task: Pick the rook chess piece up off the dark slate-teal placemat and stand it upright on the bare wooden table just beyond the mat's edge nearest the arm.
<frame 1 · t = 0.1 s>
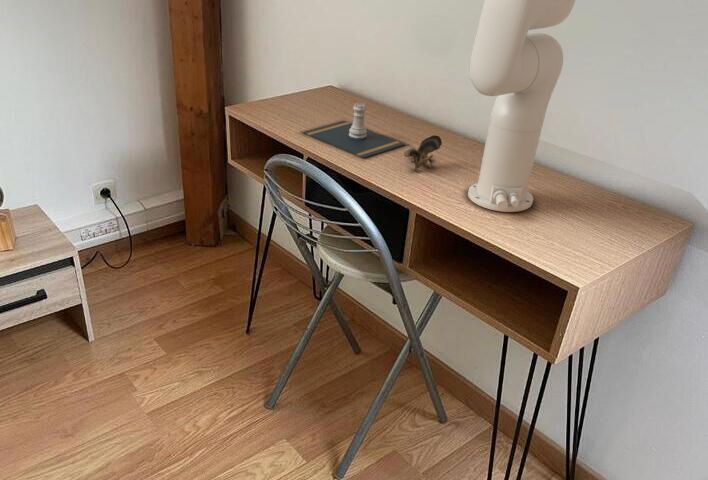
brown toy squirrel: (421, 166, 142), on the table
placemat: (353, 139, 155), on the table
rook chess piece: (357, 137, 156), resting on placemat
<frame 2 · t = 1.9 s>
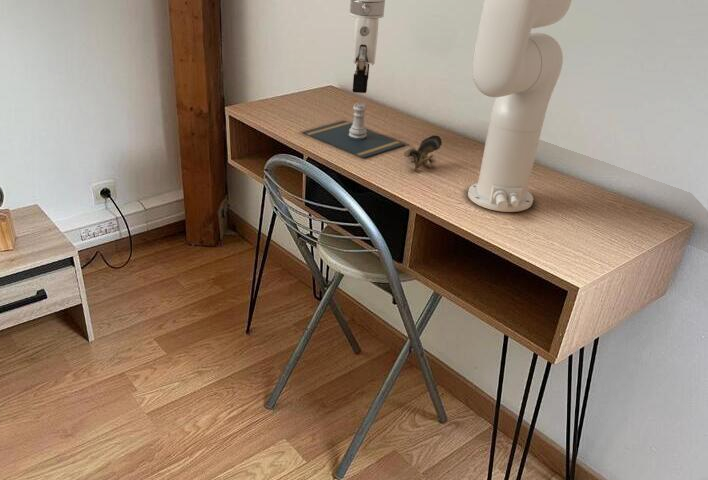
hand: (360, 86, 150), 13 cm above the table, tool pointing down, fingers open, 9 cm apart
nothing on the table moved.
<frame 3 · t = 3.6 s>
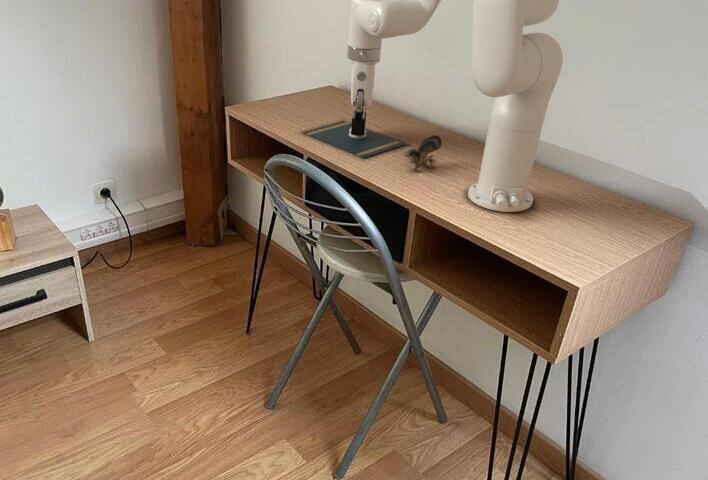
hand: (358, 130, 155), 2 cm above the table, tool pointing down, fingers closed on rook chess piece, 4 cm apart
rook chess piece: (357, 137, 156), resting on placemat, touching gripper
everything else where it was.
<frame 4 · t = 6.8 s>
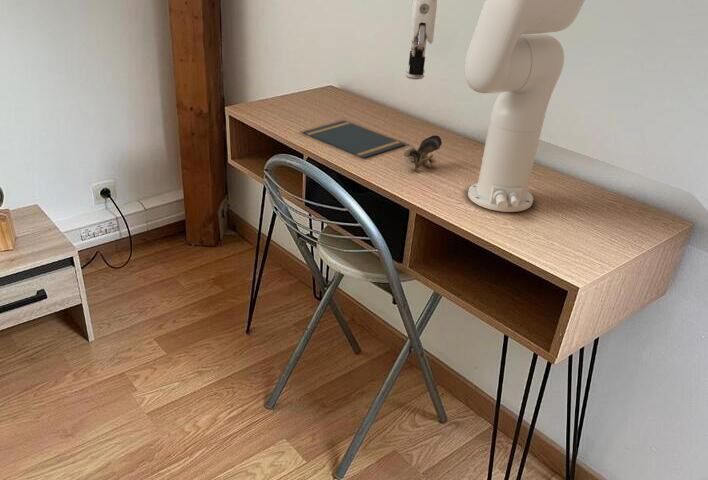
hand: (415, 70, 148), 16 cm above the table, tool pointing down, fingers closed on rook chess piece, 4 cm apart
rook chess piece: (414, 78, 149), point 14 cm above the table, touching gripper
everything else where it was.
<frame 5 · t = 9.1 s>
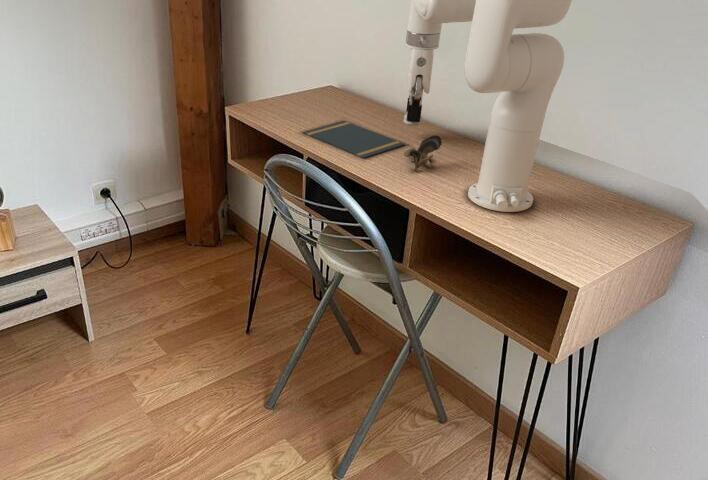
hand: (412, 117, 155), 5 cm above the table, tool pointing down, fingers closed on rook chess piece, 4 cm apart
rook chess piece: (412, 124, 156), point 3 cm above the table, touching gripper
everything else where it was.
when the fingers open (2 cm above the table, at t = 10.4 s): rook chess piece stays where it is, on the table.
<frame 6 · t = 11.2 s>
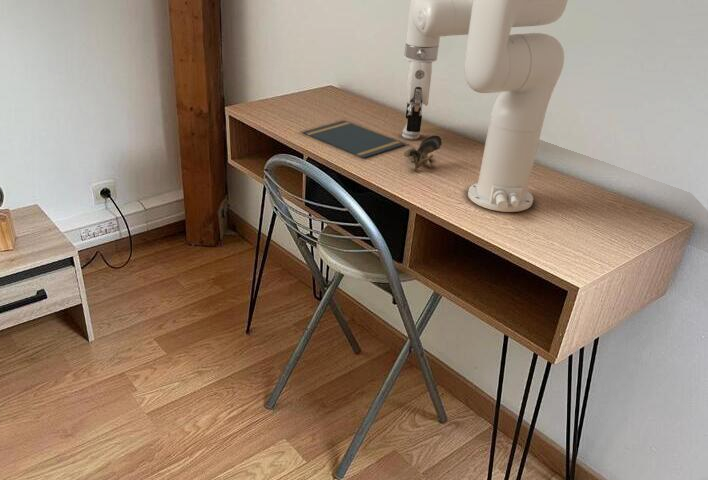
hand: (412, 124, 155), 3 cm above the table, tool pointing down, fingers open, 9 cm apart
rook chess piece: (410, 137, 157), on the table
everything else where it was.
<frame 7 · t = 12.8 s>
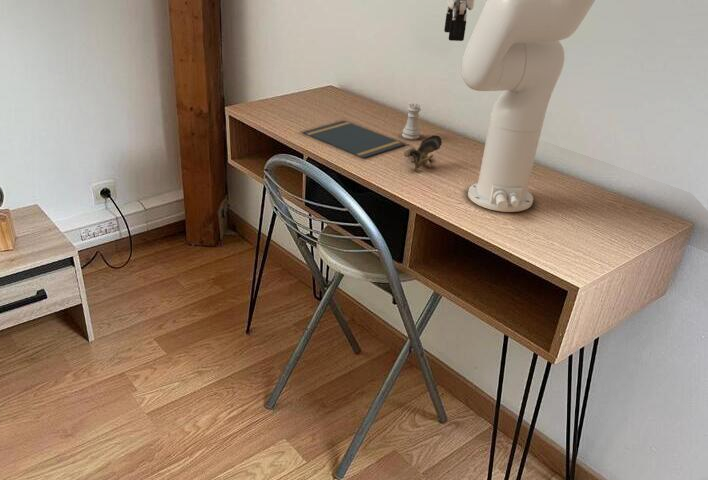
hand: (453, 36, 142), 25 cm above the table, tool pointing down, fingers open, 9 cm apart
nothing on the table moved.
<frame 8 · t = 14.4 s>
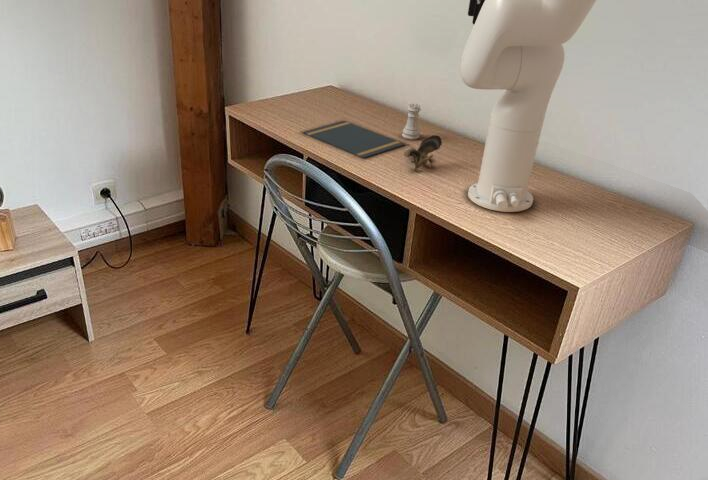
hand: (477, 20, 139), 28 cm above the table, tool pointing down, fingers open, 9 cm apart
nothing on the table moved.
at the end: rook chess piece touching table; rook chess piece inside the target area (0.0 cm from its centre), on the table; rook chess piece tilted 0° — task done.
